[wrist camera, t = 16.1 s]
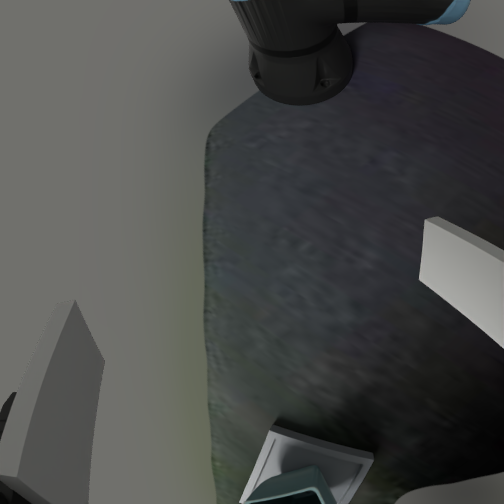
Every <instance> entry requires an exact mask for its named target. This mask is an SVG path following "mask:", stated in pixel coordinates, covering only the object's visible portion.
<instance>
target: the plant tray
mask: <svg viewBox="0 0 504 504" xmlns="http://www.w3.org/2000/svg"><path fill="white" fill-rule="evenodd" d="M373 461H374V456H373V453H371V452H367V451H362V450H358V449H354V448H350V447H346V446H342V445H338V444H335V443H331V442H327V441H324V440H320V439H317V438H314V437H310V436H307V435H304V434H300V433H297V432H294V431H291V430H288V429H285V428H282V427H279V426H276V425H272V427H271V429H270V430H269V433H268V435H267V438H266V440H265V443H264V445H263V448H262V450H261V453H260V455H259V458H258V460H257V462H256V465H255V467H254V469H253V472H252V474H251V477H250V479H249V481H248V483H247V486H246V488H245V490H244V493H243V495H242V497H241V499H240V501H239V502H240V503H242V504H244V502H245V501H246V499H247V498H248V497H249V496H250V495H251V494H252V492H253V491H254V490H255V489H256V488H257V487H258V486H259V485H260V484H261V483H262V482H264V481H265V480H267V479H269V478H271V477H273V476H276V475H279V474H283V473H287V472H290V471H294V470H298V469H301V468H305V467H308V466H311V465H316V466H318V467H319V468H320V470H321V472H322V475H323V477H324V479H325V481H326V483H327V485H328V487H329V488H330V490H331V492H332V494H333V496H334V498H335V500H336V502H337V504H348V503H349V502H350V500H351V499H352V497H353V495H354V494H355V492H356V491H357V489H358V487H359V486H360V484H361V482H362V481H363V479H364V477H365V475H366V474H367V472H368V470H369V468H370V467H371V465H372V463H373ZM307 492H310V490H309V491H307Z"/></svg>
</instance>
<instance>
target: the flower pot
mask: <svg viewBox="0 0 504 504" xmlns="http://www.w3.org/2000/svg"><path fill="white" fill-rule="evenodd" d="M309 490H310V492H307V491H309ZM244 504H337V502H336V500H335V498H334V496H333V494H332V492H331V490H330V488H329V487H328V485H327V483H326V481H325V479H324V477H323V475H322V472H321V470H320V468H319V467H318V466H316V465H311V466H308V467H305V468H301V469H298V470H294V471H290V472H287V473H283V474H279V475H276V476H273V477H271V478H269V479H267V480H265V481H264V482H262V483H261V484H260V485H259V486H258V487H257V488H256V489H255V490H254V491H253V492H252V494H251V495H250V496H249V497H248V498H247V499H246V501H245V502H244Z"/></svg>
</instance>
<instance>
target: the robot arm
mask: <svg viewBox="0 0 504 504" xmlns="http://www.w3.org/2000/svg"><path fill="white" fill-rule="evenodd" d="M229 1H230V3H231V5H232V7H233V9H234V11H235V13H236V15H237V17H238V19H239V21H240V23H241V25H242V27H243V29H244V31H245V33H246V35H247V37H248V39H249V70H250V73H251V76H252V78H253V80H254V82H255V84H256V86H257V87H258V89H259V90H260V91H261V92H262V93H263V94H265V95H266V96H267V97H269V98H271V99H273V100H275V101H277V102H280V103H284V104H289V105H310V104H315V103H319V102H322V101H325V100H327V99H330V98H332V97H333V96H335V95H336V94H338V93H339V92H340V91H342V90H343V89H344V87H345V86H346V85H347V84H348V82H349V80H350V78H351V75H352V71H353V59H352V53H351V50H350V47H349V45H348V43H347V42H346V40H345V38H344V36H343V35H342V33H341V31H340V30H339V28H338V27H337V24H338V23H359V22H389V23H412V24H418V25H430V24H451V23H454V22H456V21H457V20H459V19H460V18H461V17H462V16H463V15H464V13H465V12H466V10H467V8H468V6H469V4H470V1H471V0H229ZM419 280H420V281H421V282H423V283H424V284H425V285H427V286H428V287H429V288H431V289H432V290H433V291H435V292H436V293H437V294H438V295H440V296H441V297H442V298H444V299H445V300H446V301H447V302H449V303H450V304H451V305H452V306H454V307H455V308H456V309H457V310H459V311H460V312H461V313H462V314H464V315H465V316H466V317H467V318H468V319H470V320H471V321H472V322H473V323H475V324H476V325H477V326H478V327H479V328H481V329H482V330H483V331H484V332H485V333H486V334H488V335H489V336H490V337H491V338H492V339H494V340H495V341H496V342H497V343H498V344H499V345H500V346H502V347H503V348H504V251H503V250H502V249H500V248H498V247H496V246H494V245H493V244H491V243H489V242H487V241H485V240H483V239H481V238H479V237H478V236H476V235H474V234H472V233H470V232H468V231H466V230H464V229H462V228H460V227H458V226H456V225H454V224H452V223H450V222H448V221H446V220H444V219H442V218H440V217H434V218H429V219H425V224H424V238H423V249H422V259H421V267H420V275H419ZM104 364H105V360H104V358H103V357H102V355H101V353H100V351H99V349H98V347H97V345H96V343H95V341H94V339H93V337H92V335H91V333H90V331H89V329H88V327H87V324H86V323H85V320H84V318H83V316H82V314H81V311H80V309H79V307H78V305H77V302H76V300H72V301H67V302H62V303H57V304H56V306H55V308H54V310H53V312H52V314H51V316H50V318H49V320H48V322H47V324H46V326H45V328H44V330H43V332H42V334H41V337H40V339H39V341H38V343H37V345H36V348H35V350H34V352H33V354H32V357H31V359H30V361H29V364H28V366H27V368H26V371H25V373H24V376H23V378H22V381H21V383H20V386H19V388H18V391H17V392H13V393H12V394H11V395H10V397H9V398H8V399H7V401H6V402H5V403H4V405H3V407H2V409H1V412H0V504H88V500H89V481H90V467H91V455H92V445H93V436H94V428H95V419H96V412H97V405H98V399H99V392H100V386H101V380H102V374H103V369H104Z"/></svg>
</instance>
